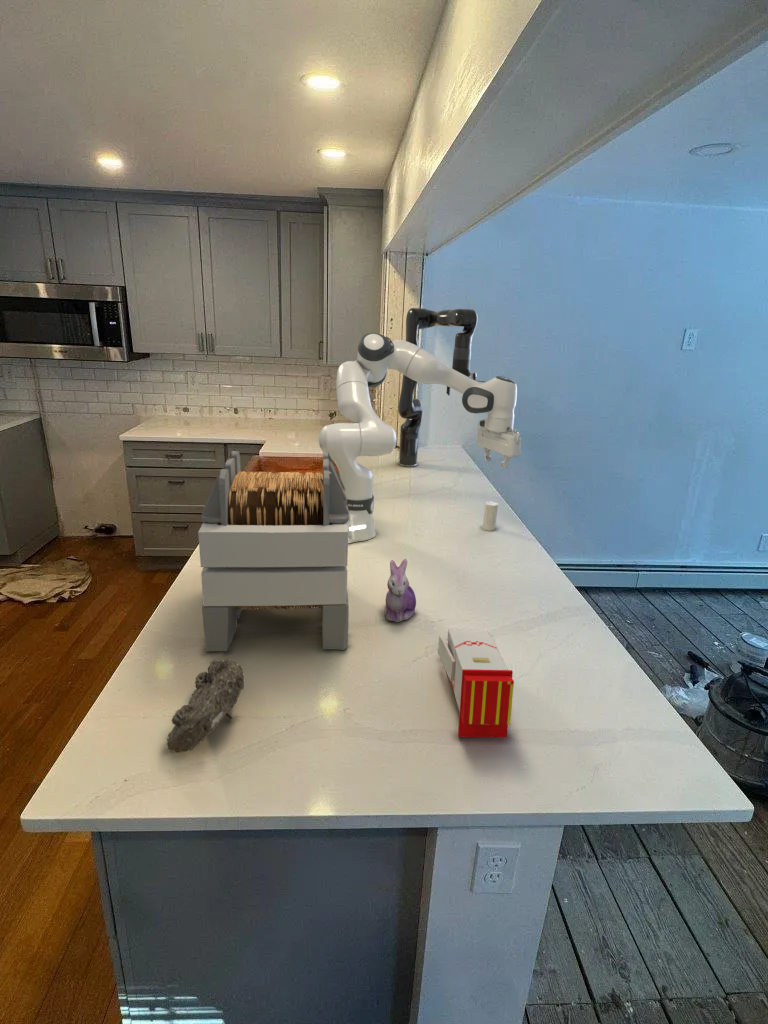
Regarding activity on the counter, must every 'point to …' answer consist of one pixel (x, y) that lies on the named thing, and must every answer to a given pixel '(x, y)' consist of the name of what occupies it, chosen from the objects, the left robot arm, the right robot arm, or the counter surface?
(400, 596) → the figurine
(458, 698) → the toy
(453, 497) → the counter surface
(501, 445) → the left robot arm
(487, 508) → the canister
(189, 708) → the fossil
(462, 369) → the right robot arm
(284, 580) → the grey record crate
